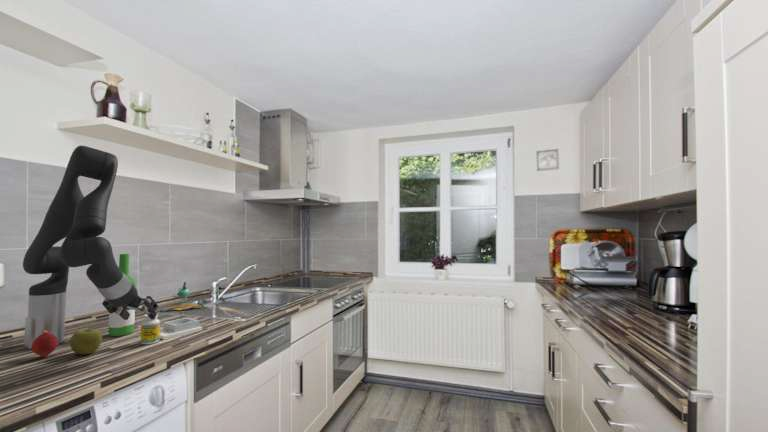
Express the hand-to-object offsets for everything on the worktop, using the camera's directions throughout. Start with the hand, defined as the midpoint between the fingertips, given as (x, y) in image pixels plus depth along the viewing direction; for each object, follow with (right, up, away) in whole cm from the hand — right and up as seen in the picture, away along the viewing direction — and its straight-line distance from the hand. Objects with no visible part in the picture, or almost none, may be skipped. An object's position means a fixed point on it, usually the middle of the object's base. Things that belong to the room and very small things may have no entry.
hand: (140, 317), depth 114 cm
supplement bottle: (0, -10, +5) cm, 11 cm away
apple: (-13, -10, -6) cm, 17 cm away
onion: (-23, -10, -9) cm, 27 cm away
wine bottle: (-18, -11, +15) cm, 25 cm away
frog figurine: (-18, -13, +57) cm, 62 cm away
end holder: (+1, -11, +17) cm, 20 cm away
